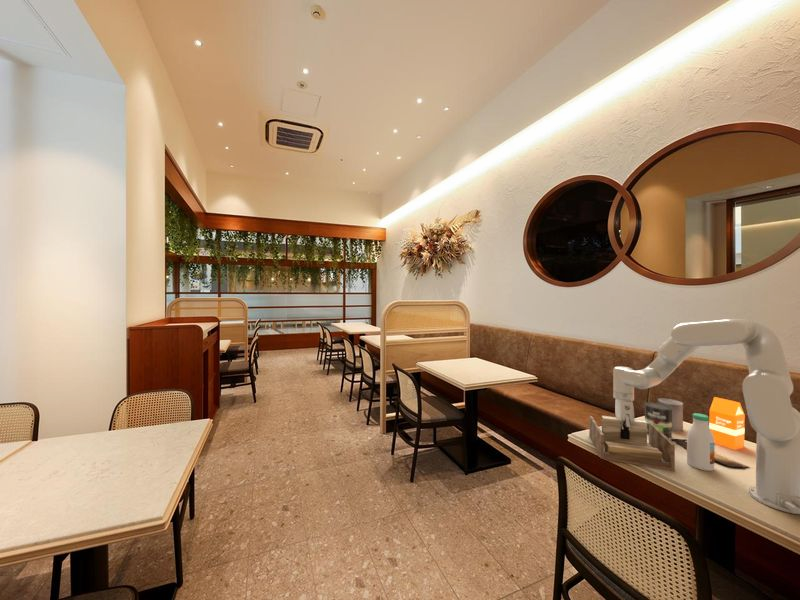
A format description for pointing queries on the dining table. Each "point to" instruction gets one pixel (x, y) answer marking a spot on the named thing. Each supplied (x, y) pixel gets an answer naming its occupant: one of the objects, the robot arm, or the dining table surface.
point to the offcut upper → (633, 449)
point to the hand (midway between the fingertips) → (623, 436)
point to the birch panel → (613, 431)
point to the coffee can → (659, 417)
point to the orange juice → (727, 423)
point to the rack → (655, 441)
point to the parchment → (717, 456)
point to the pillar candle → (674, 413)
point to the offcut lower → (634, 455)
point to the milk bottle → (700, 444)
